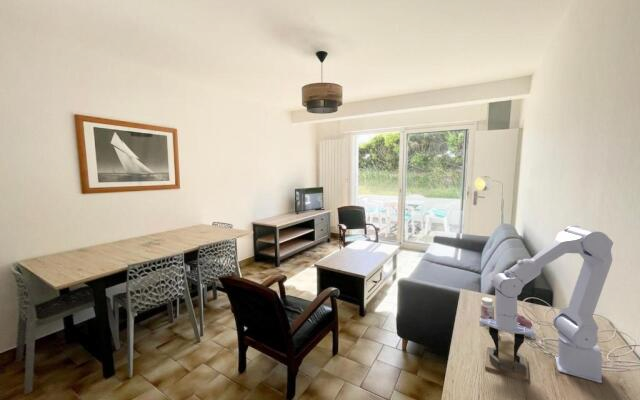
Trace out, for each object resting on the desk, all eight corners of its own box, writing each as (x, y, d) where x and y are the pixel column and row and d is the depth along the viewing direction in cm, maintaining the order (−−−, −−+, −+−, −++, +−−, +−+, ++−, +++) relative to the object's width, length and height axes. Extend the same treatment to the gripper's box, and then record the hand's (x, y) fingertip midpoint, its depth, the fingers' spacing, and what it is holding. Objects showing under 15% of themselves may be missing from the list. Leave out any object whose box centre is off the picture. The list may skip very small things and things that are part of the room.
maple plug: (513, 358, 87) (513, 337, 86) (513, 365, 84) (513, 344, 83) (499, 353, 89) (498, 333, 89) (498, 361, 86) (498, 340, 85)
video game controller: (531, 338, 101) (534, 319, 102) (527, 337, 99) (530, 318, 100) (501, 327, 109) (504, 310, 110) (497, 326, 107) (500, 308, 108)
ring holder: (527, 360, 88) (527, 351, 88) (528, 382, 79) (528, 373, 79) (487, 349, 94) (487, 341, 94) (485, 369, 85) (484, 360, 85)
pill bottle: (481, 320, 112) (480, 300, 112) (480, 314, 117) (480, 296, 116) (494, 322, 110) (494, 302, 109) (493, 316, 114) (493, 297, 114)
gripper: (534, 311, 84) (534, 352, 85) (480, 301, 92) (481, 339, 94) (536, 322, 78) (535, 366, 80) (478, 310, 87) (479, 350, 88)
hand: (506, 352), depth 86 cm, fingers closed on maple plug, 4 cm apart
